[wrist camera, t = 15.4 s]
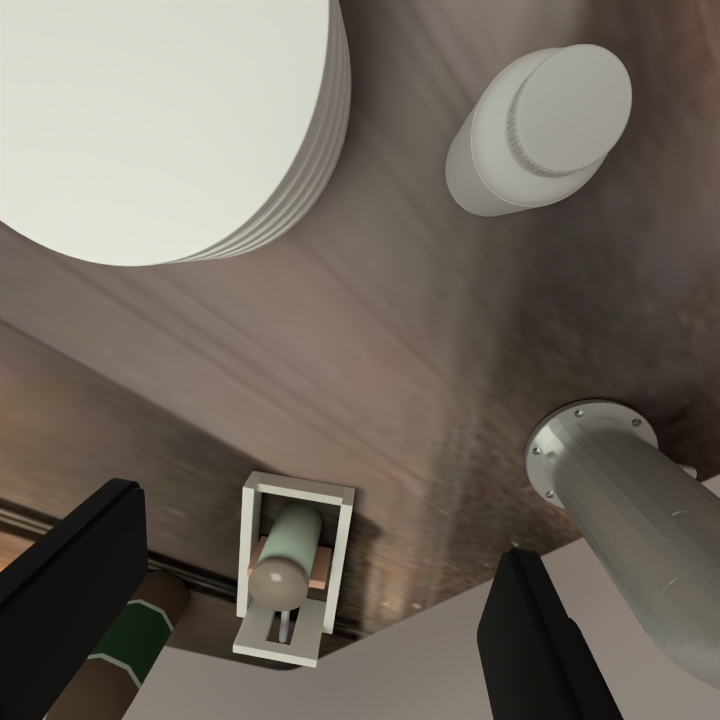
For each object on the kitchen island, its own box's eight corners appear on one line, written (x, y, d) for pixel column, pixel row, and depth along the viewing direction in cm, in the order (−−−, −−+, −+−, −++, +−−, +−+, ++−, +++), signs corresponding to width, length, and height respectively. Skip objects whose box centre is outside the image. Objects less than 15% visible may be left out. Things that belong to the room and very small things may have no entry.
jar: (325, 506, 43) (309, 570, 35) (320, 545, 45) (304, 615, 37) (277, 497, 44) (249, 560, 35) (274, 537, 45) (246, 605, 37)
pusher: (331, 548, 45) (324, 582, 40) (320, 626, 49) (312, 664, 44) (261, 535, 45) (247, 568, 41) (256, 614, 49) (242, 651, 45)
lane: (355, 488, 42) (348, 534, 36) (335, 610, 48) (326, 669, 42) (252, 470, 43) (227, 512, 36) (245, 594, 49) (222, 650, 42)
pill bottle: (492, 237, 33) (568, 234, 19) (424, 176, 32) (450, 124, 18) (561, 158, 31) (706, 87, 17) (490, 90, 30) (580, -47, 16)
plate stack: (35, -190, 27) (-202, -477, 16) (398, -62, 28) (403, -258, 17) (26, 205, 36) (-133, 189, 25) (302, 297, 36) (264, 320, 26)
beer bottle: (162, 558, 48) (-46, 844, 25) (204, 597, 49) (43, 901, 27) (124, 583, 50) (-101, 871, 27) (165, 620, 51) (-15, 922, 29)
